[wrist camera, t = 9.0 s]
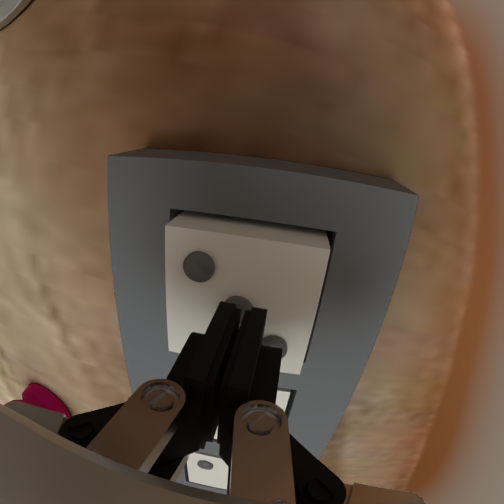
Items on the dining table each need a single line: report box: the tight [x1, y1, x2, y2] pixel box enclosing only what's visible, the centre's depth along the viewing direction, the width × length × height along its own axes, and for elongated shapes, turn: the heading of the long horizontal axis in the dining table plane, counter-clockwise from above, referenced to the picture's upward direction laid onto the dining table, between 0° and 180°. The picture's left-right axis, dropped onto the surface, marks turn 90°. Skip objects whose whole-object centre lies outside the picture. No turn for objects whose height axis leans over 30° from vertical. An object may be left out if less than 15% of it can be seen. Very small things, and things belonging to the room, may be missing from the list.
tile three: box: [165, 210, 330, 375], centre depth 13 cm, size 6×6×3 cm
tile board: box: [108, 148, 419, 495], centre depth 18 cm, size 28×13×4 cm, turn 174°
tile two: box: [187, 451, 228, 490], centre depth 21 cm, size 6×6×3 cm
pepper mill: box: [10, 383, 71, 418], centre depth 18 cm, size 7×7×20 cm
